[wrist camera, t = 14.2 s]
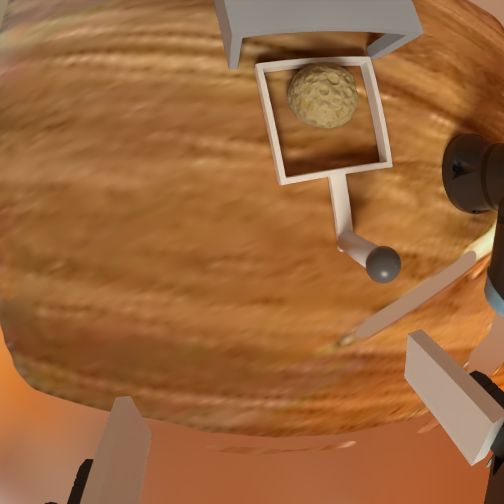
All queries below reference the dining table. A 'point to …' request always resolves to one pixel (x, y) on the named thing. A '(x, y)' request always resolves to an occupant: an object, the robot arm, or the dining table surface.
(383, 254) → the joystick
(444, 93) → the dining table surface
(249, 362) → the dining table surface
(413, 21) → the tunnel
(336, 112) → the rock
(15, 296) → the dining table surface
